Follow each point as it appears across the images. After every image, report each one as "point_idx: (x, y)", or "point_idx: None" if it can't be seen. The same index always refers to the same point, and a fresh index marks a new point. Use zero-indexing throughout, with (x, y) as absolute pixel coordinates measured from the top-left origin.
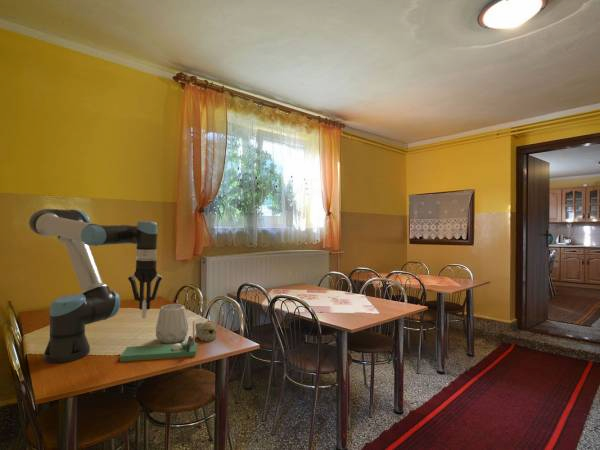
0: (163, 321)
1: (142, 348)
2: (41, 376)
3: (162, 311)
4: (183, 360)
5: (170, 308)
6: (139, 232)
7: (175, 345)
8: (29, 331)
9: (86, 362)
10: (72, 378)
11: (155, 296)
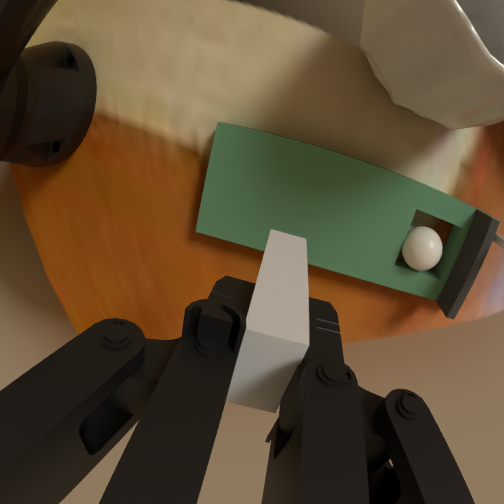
0: (426, 72)
1: (285, 176)
2: (42, 241)
3: (447, 28)
4: (410, 315)
5: None
6: None
7: (418, 264)
8: None
9: (102, 185)
10: (102, 290)
11: (422, 439)
